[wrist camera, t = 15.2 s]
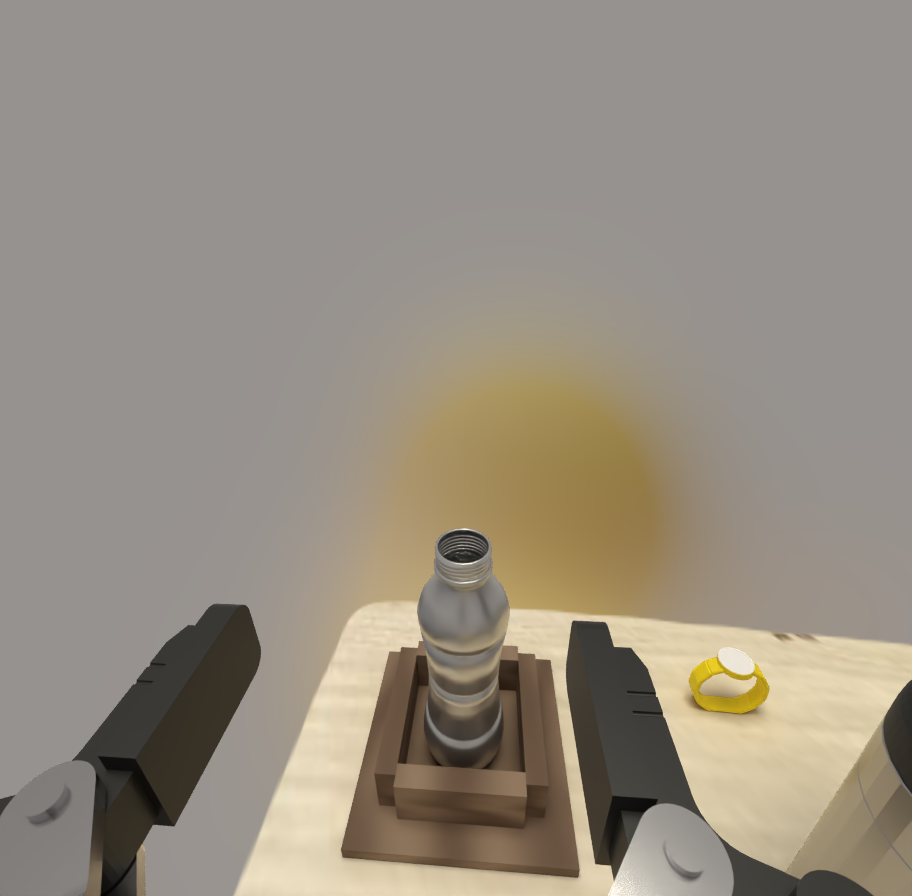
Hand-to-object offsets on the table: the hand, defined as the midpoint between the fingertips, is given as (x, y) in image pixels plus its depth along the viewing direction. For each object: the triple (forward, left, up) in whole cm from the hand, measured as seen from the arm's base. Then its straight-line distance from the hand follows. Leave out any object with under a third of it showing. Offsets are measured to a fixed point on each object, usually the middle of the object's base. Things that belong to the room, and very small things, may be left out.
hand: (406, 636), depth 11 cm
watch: (-23, -20, -30) cm, 43 cm away
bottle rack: (0, -15, -30) cm, 33 cm away
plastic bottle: (0, -15, -29) cm, 33 cm away
